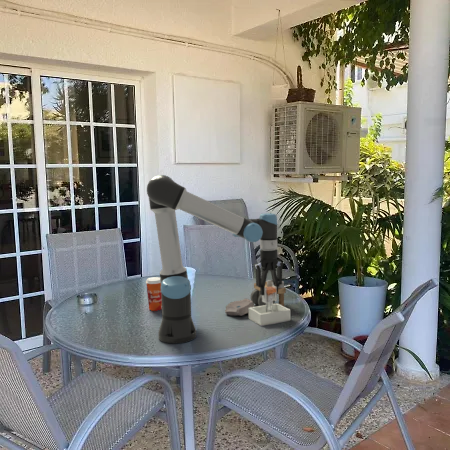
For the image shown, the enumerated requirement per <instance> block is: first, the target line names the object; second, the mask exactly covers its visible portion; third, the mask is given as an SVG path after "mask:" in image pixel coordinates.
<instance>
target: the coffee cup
mask: <svg viewBox="0 0 450 450" xmlns="http://www.w3.org/2000/svg"><path fill="white" fill-rule="evenodd" d="M145 283H146V290H147V291H146V292H147V294H146V295H147V301H148V309H149V311H150V310H151V311H152V312H158V310H159V311H162V298H161V280H160V276H159V277H158V276H156V277H153V276H152V277H148V278H146V281H145Z"/></svg>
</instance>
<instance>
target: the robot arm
mask: <svg viewBox="0 0 450 450" xmlns="http://www.w3.org/2000/svg"><path fill="white" fill-rule="evenodd" d="M146 195H147V197H148V201H149V209H150V211H152V212H153V213H154V218H155V219H154V220H155V224H156V233H157V238H158V239H157V240H158V246H159V247H158V248H159V253H160V260H161V268H162V269H161V270H160V271H159V278H160V280H161V298H162V309H161V321H160V326H159V329H158V336H157V337H158V340H160V342H162V343H167V344H184V343H187V342H190V341H192V340H194V339H196V338H197V328H196V326H195V323H194V321H193V317H192V292H191V291H192V285H191V281H190V279H189V278H188V277H189V276H188V271H187V267H185V266H184V265H183V259H182V252H181V245H180V243H181V242H180V238H179V237H180V236H179V229H178V223H177V222H178V221H177V214H176V211H177V210H180V211H182V212H185V213H186V214H189V215H191V216H194V217H196V218H198V219H200V220H203V221H205V222H206V223H209V224H211V225H214V226H216V227H218V228H220V229H222V230H224V231H226V232H229V233H232V235H233V237H235V238H242V239H244V240H246V241H247V242H250V243H256V242H259V248H260V250H259V257H260V261H259V263H257V264H255V263H254V270H255V283H256V286H258V287H260V294H261V295H262V302H264V303H267V296H266V288H265V283H266V282H267V277H268V273H269V271H270V274H271V280H273V284H274V285H273V286H272V287H273V288H276V292H275V293H273V301H275V302H277V301H278V299H277V298H278V297H277V295H278V294H277V293H278V287H279V285H280V284H282V281H283V267H284V262H282V261H279V260H278V256H279V255H278V216H277V214H276V213H271V212H270V213H267V212H266V213H261V214H259V217H258V218H245V217H243V216H241V215H239V214H237V213H235V212H232V211H230V210H228V209H226V208H223V207H221V206H219V205H218V204H215V203H212V201H211V202H210V201H208V200H207V199H204V198H202V197H200V196H197V195H196V194H194V193H192V192H189V191H187V189H186V187H184V186H183V185H180V184H179V183H177V182H175V180H173V179H172V178H171V177H170V176H168V175H165V174H163V175H162V174H159V175H155V176H154V177H152V178H151V179H150V180H149V182H148V184H147V185H146Z"/></svg>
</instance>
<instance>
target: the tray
mask: <svg viewBox="0 0 450 450" xmlns="http://www.w3.org/2000/svg"><path fill="white" fill-rule="evenodd" d="M248 311H249V314H248V319H249V320H250V321H251V322H253V323H255V324H256V325H258V326H259V327H263V326H268V325H274V324H279V323H285V322H286V323H287V322H290V321H291V309H290V308H288V307H286V306H285V305H284V306H282V305H280V304H279V302H277V303H276V302H275V303H274V304H273V312H269V313H267V312H266V305H263V306H257V305H256V306H255V307H251V308H248Z"/></svg>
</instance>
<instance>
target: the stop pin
mask: <svg viewBox="0 0 450 450" xmlns="http://www.w3.org/2000/svg"><path fill="white" fill-rule="evenodd" d="M265 288H266V296H267V303H266V312H267V313H269V312H273V293H275V292H276V288H273V287H265Z"/></svg>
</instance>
